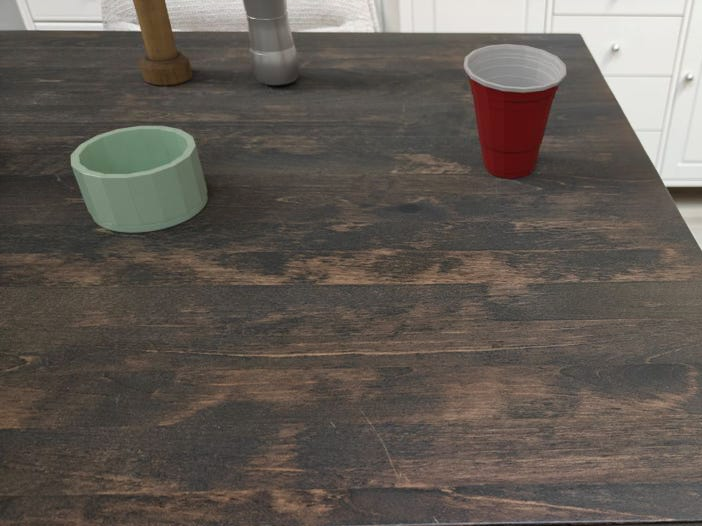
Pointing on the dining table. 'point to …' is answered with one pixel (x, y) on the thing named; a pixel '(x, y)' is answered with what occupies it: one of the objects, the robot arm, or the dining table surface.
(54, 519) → the dining table surface
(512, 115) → the plastic cup
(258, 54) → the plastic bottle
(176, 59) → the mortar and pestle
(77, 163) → the holder
